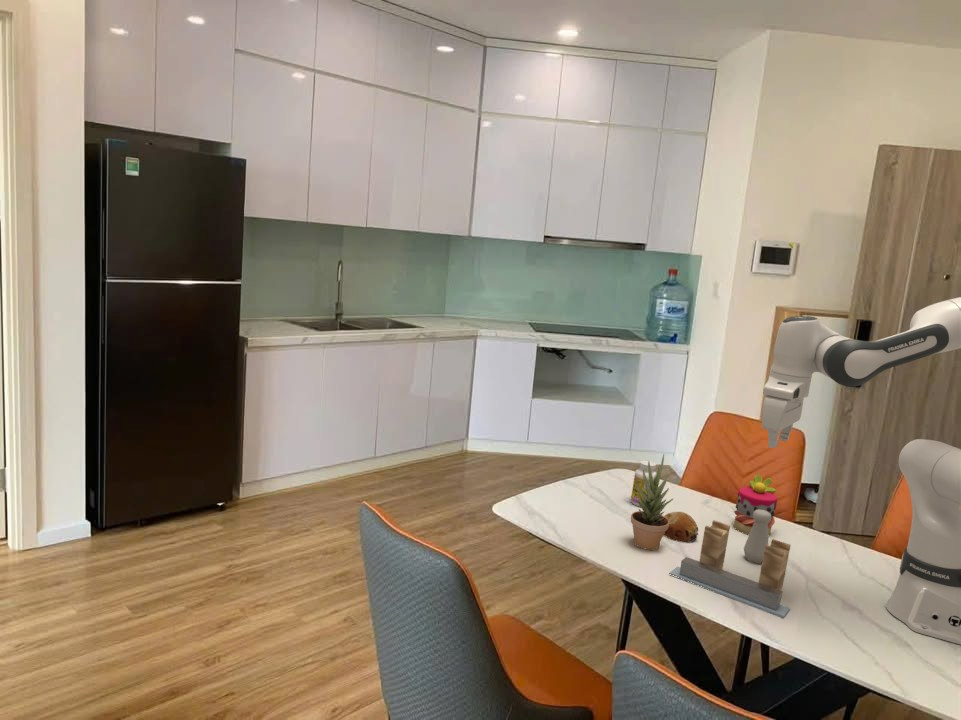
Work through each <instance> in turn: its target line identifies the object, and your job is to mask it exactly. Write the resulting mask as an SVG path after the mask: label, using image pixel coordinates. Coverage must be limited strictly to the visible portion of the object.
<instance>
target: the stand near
mask: <svg viewBox="0 0 961 720" xmlns="http://www.w3.org/2000/svg"><path fill="white" fill-rule="evenodd" d="M790 550H791V544H789V543H786V542H784V541H780V540H777V539H771V543H770V545H769V544H768V545H766V546H765V551H764V556H763V562H762V563H761V566H760V567H761V568H760V573H759V574H760V575H759V580H758V583H761V584H763V585H766V586H769V587H772V588H775V589H777V590H780V591H783V587H784V584H785V583H784V582H785V578H786V572H787V566H788V560H789V557H790Z"/></svg>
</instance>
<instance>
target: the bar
mask: <svg viewBox="0 0 961 720" xmlns="http://www.w3.org/2000/svg"><path fill="white" fill-rule="evenodd" d="M699 561H700V560H696V559H693V558H691V557H688V556H685V557H684V558H682V559H681V562H680V566H679V567H680V573H679V575H682V576H685V577H687V578H690V579H692V580H695V581H698V582H700V583H703V584H706V585H708V586H711V587H714V588H716V589H719V590H722V591H724V592H727V593H730V594H732V595H735V596H738V597H740V598H743V599H746V600H748V601H751V602H754V603H756V604H759V605H762V606H764V607H767V608H770V609H772V610H775V611H776V610H777V609H778V608H779V607H780V604H781V603H782V602H781V601H782V597H783V590H782V591H780V590H777V589H775V588H772V587H769V586H766V585H763V584H761V583H759V581H755V580H752V579H749V578H746V577H744V576H741V575H738V574H735V573H732V572H729V571H727V570H724V569H719V568H716V567H713V566H711V565H708V564H705V563H702V562H699Z"/></svg>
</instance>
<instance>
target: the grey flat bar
mask: <svg viewBox="0 0 961 720" xmlns="http://www.w3.org/2000/svg"><path fill="white" fill-rule="evenodd" d="M680 567H681V566H676V567H675V568H673V569H672V570H671V571H669V572H668V575H669V574H671V575H674V576H677V577H679V578H682V579H684V580H687V581H689V582H692V583H694V584H693V585H695V584H696V585H695V586H697V585H699V586H698V587H700V586H702V587H704V588H703V589H705V588H706V589H705V590H708V589H709V590H708V591H710V590H711V592H713V591H714V593H716V594H719V595H721V596H724V597H727V598H729V599H731V600H734V601H737V602H740V603H742V604H744V605H748V606H749V607H753V608H755V609H758V610H761V611H763V612H766V613H768V614H771V615H773V616H775V617H776V616H777V617H779V618H782V619H785V617H786V616H787V615H788V614H789V612H790V611H791V607H790V606H789V607H788V606H786V605H783V604H781V603H780V607H779V608H778V609H777V610H776V611H775V610H772V609H770V608H767V607H764V606H762V605H759V604H756V603H754V602H751V601H748V600H746V599H743V598H740V597H738V596H735V595H732V594H730V593H727V592H724V591H722V590H719V589H716V588H714V587H711V586H708V585H706V584H703V583H700V582H698V581H695V580H692V579H690V578H687V577H685V576H682V575H679V573H680ZM671 575H670V576H671ZM674 576H673V577H674ZM679 578H678V579H679ZM684 580H683V581H684ZM687 581H686V582H687ZM689 582H688V583H689ZM692 583H691V584H692ZM702 587H701V588H702Z"/></svg>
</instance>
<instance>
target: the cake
mask: <svg viewBox="0 0 961 720" xmlns="http://www.w3.org/2000/svg"><path fill="white" fill-rule="evenodd" d="M772 483H773V480H772V479H771V478H770V477H768V478H766V479H764V481H763V477H762V475H759V474H756V475H755V476H754V477H753V480H749V483H748V484H749V486H742V487H741V488H739V489H738V493H737V504H735V508H736V510H734V511H733V513H734V514H735V517H734V521H733V527H734V529H735V528H736V529H735V530H737V531H738V530H739V531H738V532H740V531H741V532H740V533H742V532H743V533H742V534H746V535H748V534H750V531H751V529H752V526H753V524H754V521H755V520H754V519H753V513H754V511H755V510H765V511H767V512H769V513H770V514H771V521H770V522H769V523H768V535H769V536H771V532H772V528H773V526H774V525H775V523H776V522H775V517H774V516H775V512H776V509H777V505H778V496H777V494H775V493H776V492H777V491H776V488H774V487H770V485H771V484H772Z"/></svg>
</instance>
